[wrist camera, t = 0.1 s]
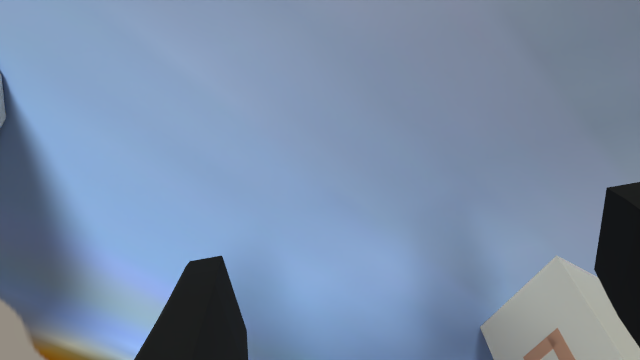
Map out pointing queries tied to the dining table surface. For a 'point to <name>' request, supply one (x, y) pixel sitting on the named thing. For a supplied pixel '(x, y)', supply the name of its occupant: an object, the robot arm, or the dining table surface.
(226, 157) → the dining table surface
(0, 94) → the white cup
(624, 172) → the dining table surface
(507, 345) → the block
